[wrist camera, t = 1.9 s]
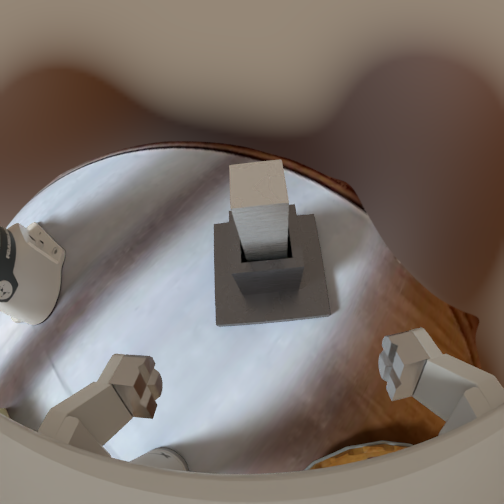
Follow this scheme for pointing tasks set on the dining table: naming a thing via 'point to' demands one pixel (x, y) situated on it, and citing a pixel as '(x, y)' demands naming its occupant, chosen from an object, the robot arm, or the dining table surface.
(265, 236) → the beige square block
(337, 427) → the dining table surface
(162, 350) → the dining table surface
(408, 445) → the pie
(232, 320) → the grey square socket stand
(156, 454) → the travel mug
